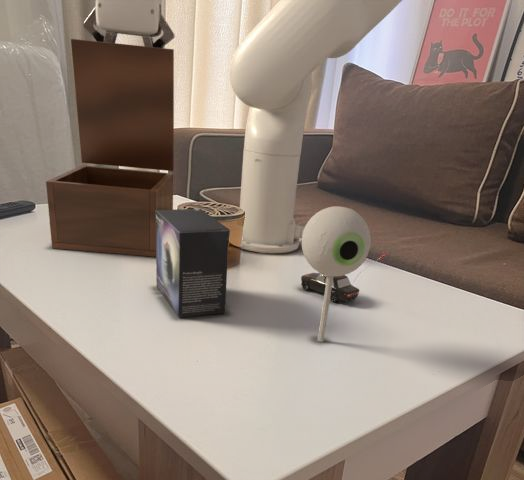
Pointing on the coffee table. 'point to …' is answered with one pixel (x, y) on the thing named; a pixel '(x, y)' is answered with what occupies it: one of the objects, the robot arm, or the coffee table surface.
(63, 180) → the chest
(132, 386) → the coffee table surface
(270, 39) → the robot arm
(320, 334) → the lollipop
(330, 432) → the coffee table surface
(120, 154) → the lid
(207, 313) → the small box
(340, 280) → the toy car
